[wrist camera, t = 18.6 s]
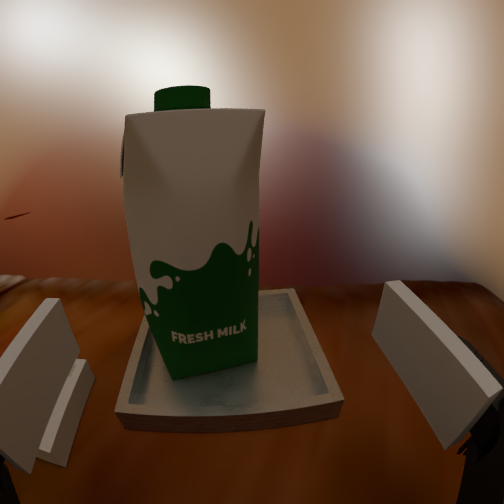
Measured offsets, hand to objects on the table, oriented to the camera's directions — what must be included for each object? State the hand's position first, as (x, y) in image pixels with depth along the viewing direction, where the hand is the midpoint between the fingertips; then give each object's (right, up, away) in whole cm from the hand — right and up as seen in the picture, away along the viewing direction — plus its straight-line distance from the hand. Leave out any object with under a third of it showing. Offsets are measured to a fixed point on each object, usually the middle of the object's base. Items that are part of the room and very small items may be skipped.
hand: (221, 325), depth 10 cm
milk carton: (-3, -5, +13) cm, 14 cm away
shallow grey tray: (-1, -6, +12) cm, 14 cm away
